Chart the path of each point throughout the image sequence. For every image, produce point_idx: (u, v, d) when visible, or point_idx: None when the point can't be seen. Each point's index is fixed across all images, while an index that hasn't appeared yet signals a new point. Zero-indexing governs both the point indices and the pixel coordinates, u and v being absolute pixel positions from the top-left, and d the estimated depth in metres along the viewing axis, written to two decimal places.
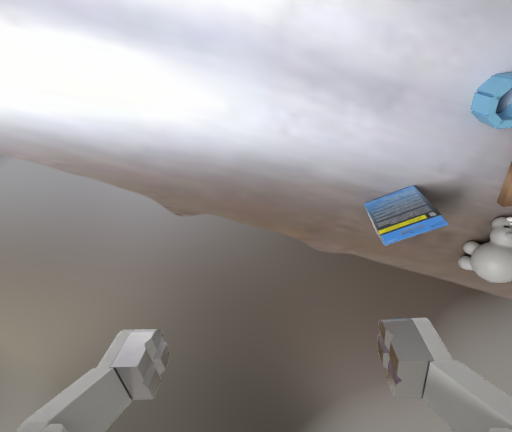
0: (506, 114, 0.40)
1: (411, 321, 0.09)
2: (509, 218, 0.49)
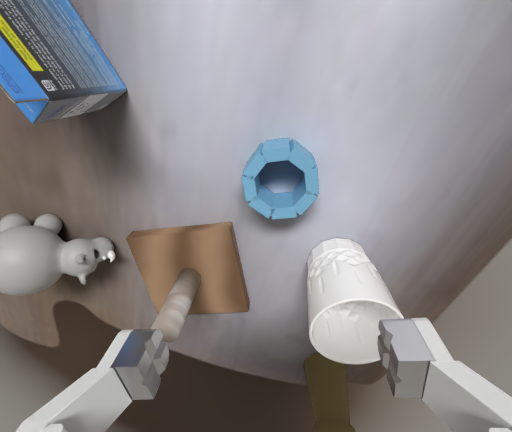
0: (259, 189, 0.27)
1: (411, 321, 0.09)
2: (112, 253, 0.32)
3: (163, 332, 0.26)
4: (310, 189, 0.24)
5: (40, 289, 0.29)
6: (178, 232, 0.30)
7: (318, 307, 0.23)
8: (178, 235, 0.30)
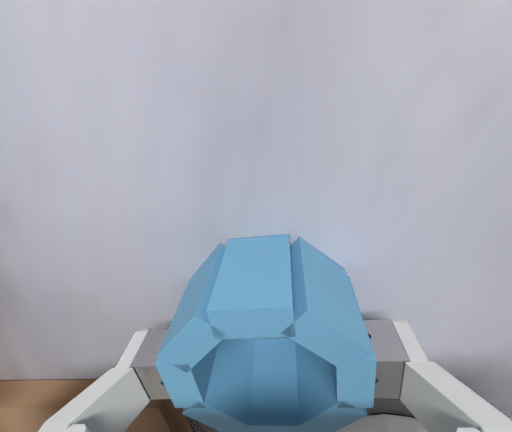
0: (218, 347, 0.12)
1: (389, 322, 0.09)
2: None
3: None
4: (350, 399, 0.09)
5: None
6: (55, 405, 0.14)
7: None
8: (55, 410, 0.14)
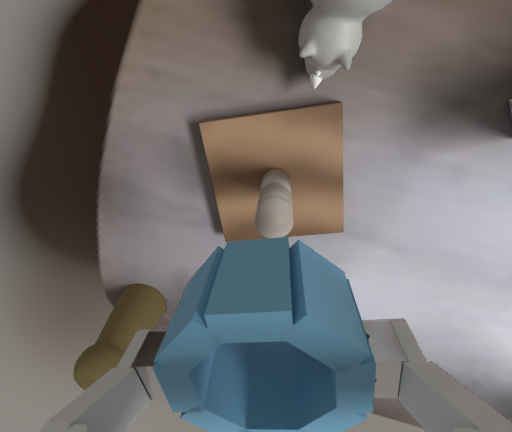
0: (216, 350, 0.11)
1: (388, 322, 0.09)
2: (318, 83, 0.22)
3: (274, 220, 0.19)
4: (349, 403, 0.09)
5: None
6: (342, 176, 0.25)
7: None
8: (340, 176, 0.25)
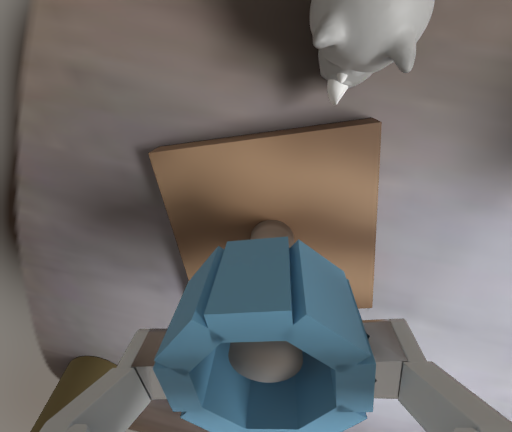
0: (216, 349, 0.11)
1: (388, 322, 0.09)
2: (342, 93, 0.13)
3: (265, 356, 0.10)
4: (349, 403, 0.09)
5: None
6: (375, 232, 0.16)
7: None
8: (371, 233, 0.16)
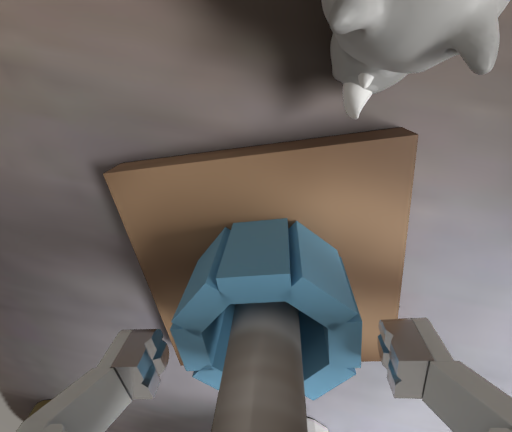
0: (223, 321, 0.13)
1: (411, 321, 0.09)
2: None
3: None
4: (340, 359, 0.10)
5: None
6: (401, 274, 0.13)
7: None
8: (396, 276, 0.12)
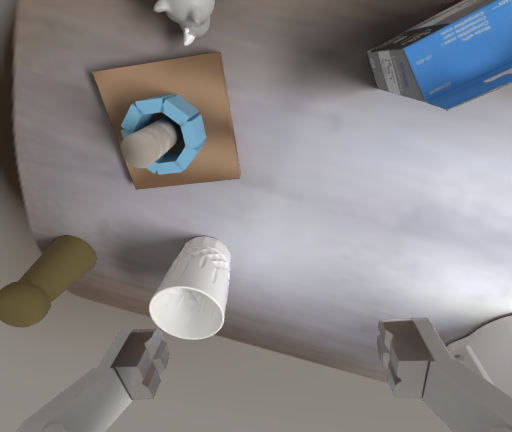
0: None
1: (411, 321, 0.09)
2: (192, 40, 0.24)
3: (137, 150, 0.21)
4: (189, 143, 0.25)
5: None
6: (230, 123, 0.28)
7: (205, 288, 0.28)
8: (227, 124, 0.28)
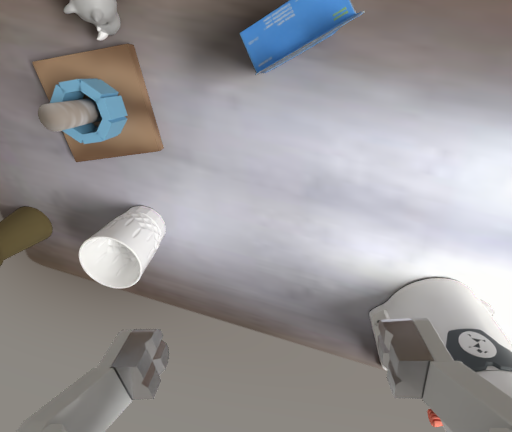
0: None
1: (411, 321, 0.09)
2: (105, 36, 0.30)
3: (51, 116, 0.27)
4: (104, 116, 0.31)
5: None
6: (145, 103, 0.34)
7: (123, 239, 0.33)
8: (143, 103, 0.34)
